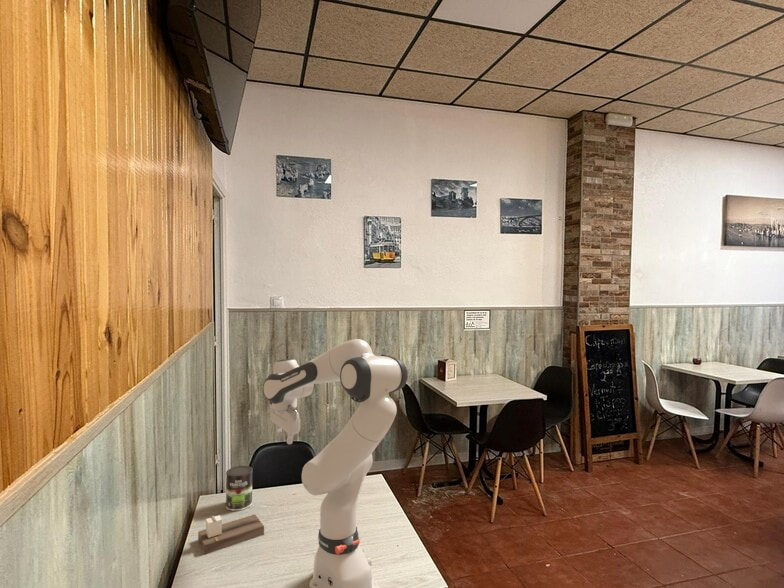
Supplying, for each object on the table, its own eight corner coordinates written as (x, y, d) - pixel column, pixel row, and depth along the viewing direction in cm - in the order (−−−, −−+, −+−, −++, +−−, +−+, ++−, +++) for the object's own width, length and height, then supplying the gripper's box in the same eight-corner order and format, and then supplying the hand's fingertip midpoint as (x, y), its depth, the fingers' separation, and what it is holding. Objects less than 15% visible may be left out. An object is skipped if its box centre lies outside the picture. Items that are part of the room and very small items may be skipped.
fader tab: (221, 533, 144) (221, 518, 144) (208, 538, 141) (208, 522, 141) (219, 529, 147) (219, 513, 147) (205, 533, 144) (206, 517, 144)
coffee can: (251, 509, 167) (252, 474, 167) (224, 512, 164) (224, 477, 164) (253, 497, 177) (253, 464, 177) (227, 500, 174) (227, 466, 174)
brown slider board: (263, 534, 149) (264, 525, 149) (204, 554, 137) (204, 544, 137) (255, 522, 157) (255, 513, 157) (198, 540, 145) (198, 531, 146)
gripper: (304, 407, 146) (304, 446, 146) (282, 395, 163) (282, 430, 163) (287, 410, 143) (287, 450, 143) (267, 398, 159) (266, 433, 159)
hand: (284, 439), depth 153 cm, fingers open, 8 cm apart
